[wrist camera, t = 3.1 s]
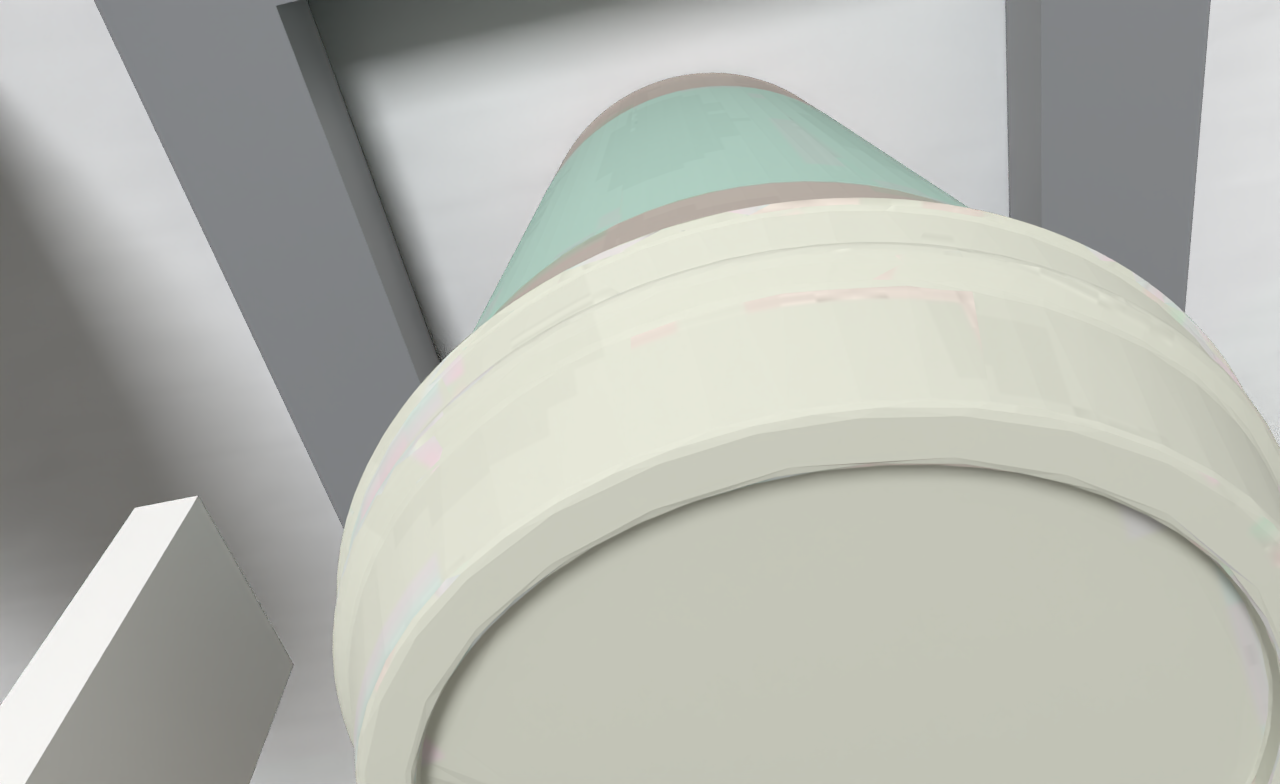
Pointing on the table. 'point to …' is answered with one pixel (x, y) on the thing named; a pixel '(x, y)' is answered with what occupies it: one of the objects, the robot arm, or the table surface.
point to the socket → (373, 268)
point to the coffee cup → (810, 492)
